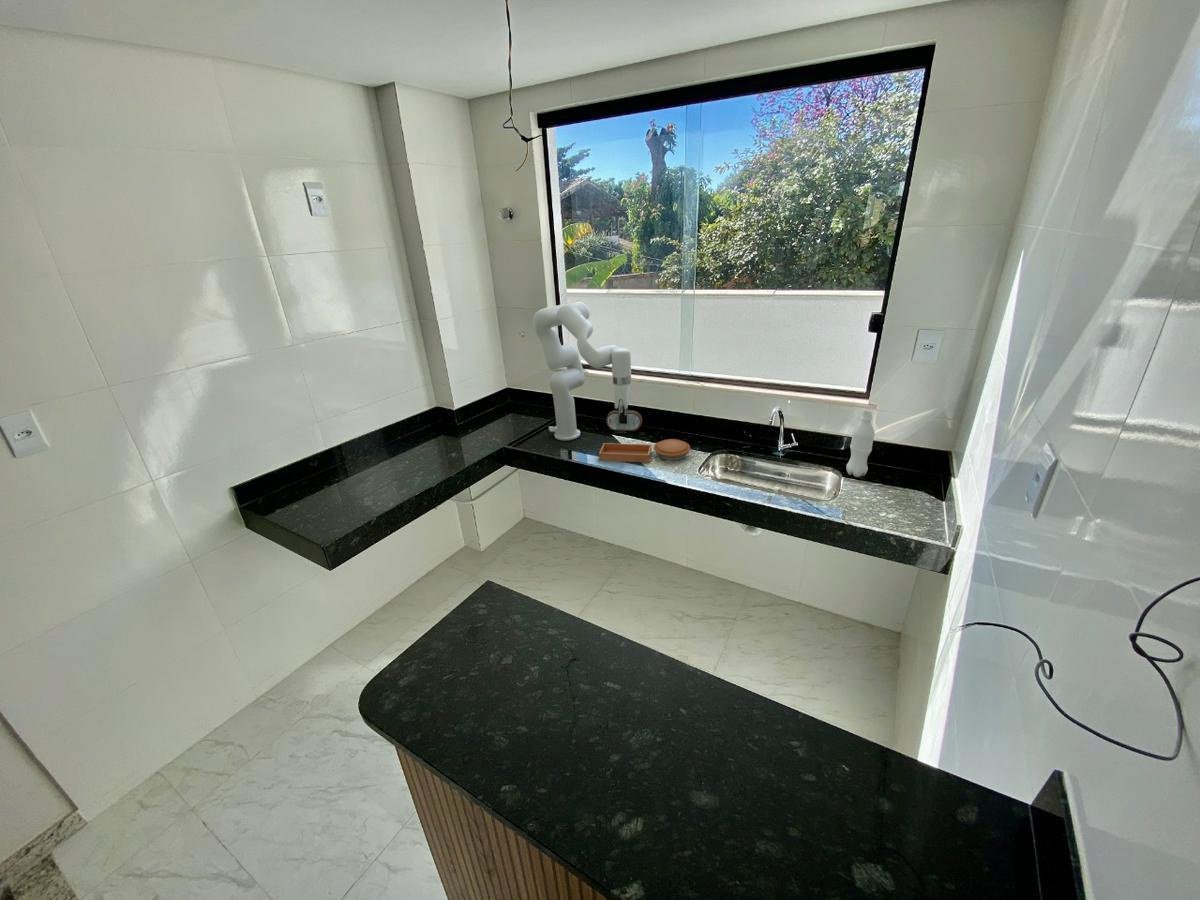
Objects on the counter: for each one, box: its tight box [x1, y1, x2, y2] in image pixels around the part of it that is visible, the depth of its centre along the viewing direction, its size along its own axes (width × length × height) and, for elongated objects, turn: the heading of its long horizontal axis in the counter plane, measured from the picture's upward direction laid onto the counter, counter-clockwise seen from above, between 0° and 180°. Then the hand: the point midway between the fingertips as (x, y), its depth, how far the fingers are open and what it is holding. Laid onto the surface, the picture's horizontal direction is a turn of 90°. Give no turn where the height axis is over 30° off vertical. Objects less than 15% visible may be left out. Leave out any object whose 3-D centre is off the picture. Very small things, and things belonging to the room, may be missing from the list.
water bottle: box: [845, 410, 876, 478], centre depth 178 cm, size 7×7×25 cm
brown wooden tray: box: [598, 442, 653, 464], centre depth 208 cm, size 21×10×4 cm, turn 78°
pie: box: [653, 438, 691, 461], centre depth 206 cm, size 15×16×5 cm
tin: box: [605, 409, 643, 432], centre depth 202 cm, size 15×3×8 cm, turn 78°
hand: (623, 421), depth 202 cm, fingers closed on tin, 2 cm apart
